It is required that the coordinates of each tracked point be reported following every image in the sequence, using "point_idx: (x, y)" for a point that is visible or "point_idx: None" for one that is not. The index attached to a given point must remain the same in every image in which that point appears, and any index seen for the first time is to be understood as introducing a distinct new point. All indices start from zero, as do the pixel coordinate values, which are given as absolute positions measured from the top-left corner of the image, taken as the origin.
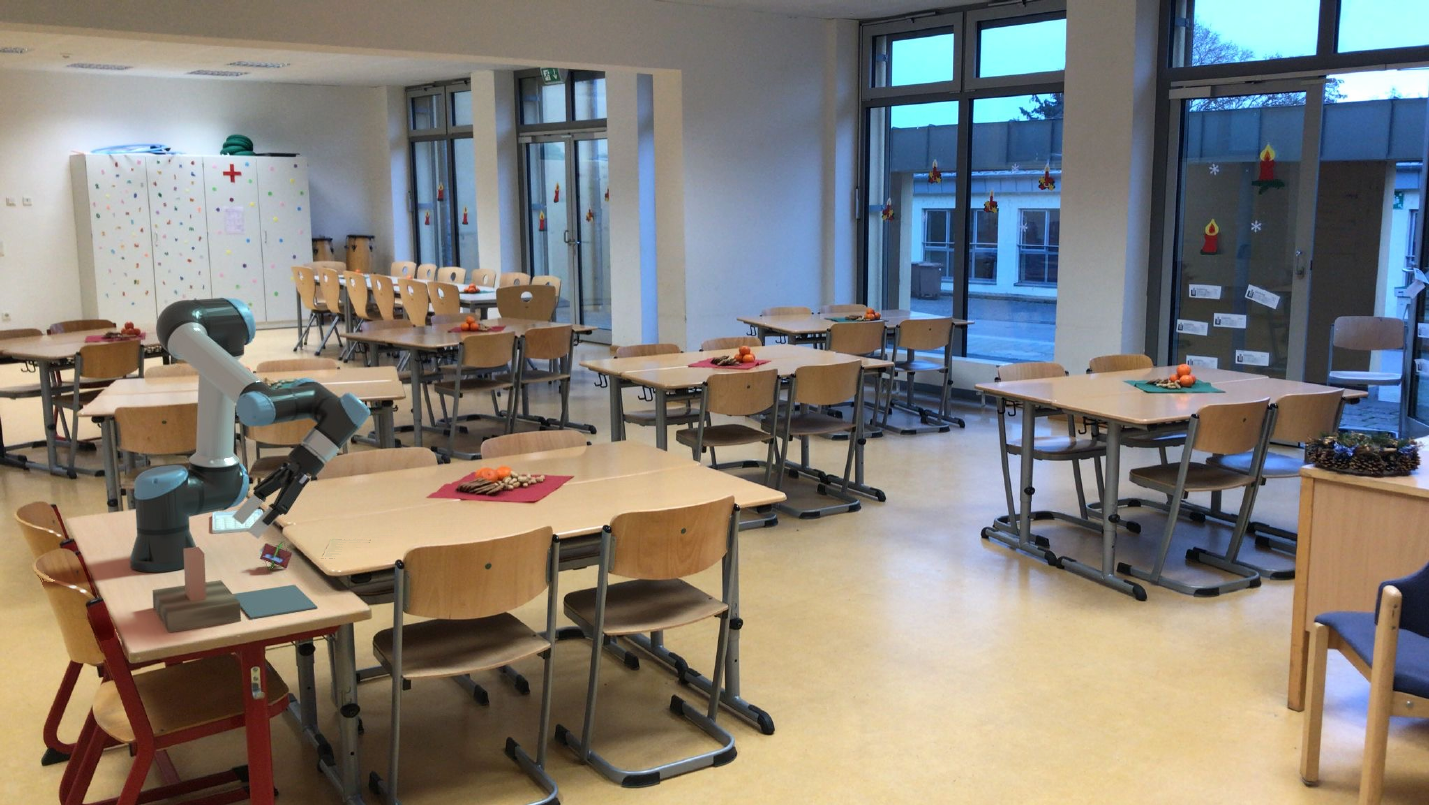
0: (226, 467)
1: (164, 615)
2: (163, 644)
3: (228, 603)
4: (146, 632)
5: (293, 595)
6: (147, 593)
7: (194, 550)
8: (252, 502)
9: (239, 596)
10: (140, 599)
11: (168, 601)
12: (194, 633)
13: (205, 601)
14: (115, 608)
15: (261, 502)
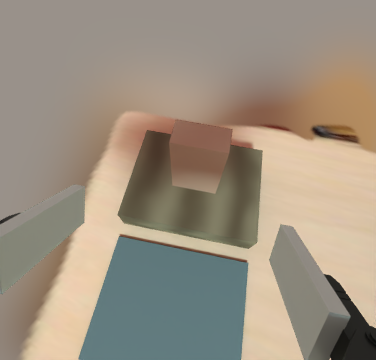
0: None
1: None
2: (119, 129)
3: (128, 200)
4: (170, 130)
5: (172, 354)
6: (322, 179)
7: (205, 138)
8: (305, 299)
9: (228, 268)
10: (299, 165)
11: None
12: (126, 163)
13: (162, 180)
14: (277, 135)
15: (303, 352)
